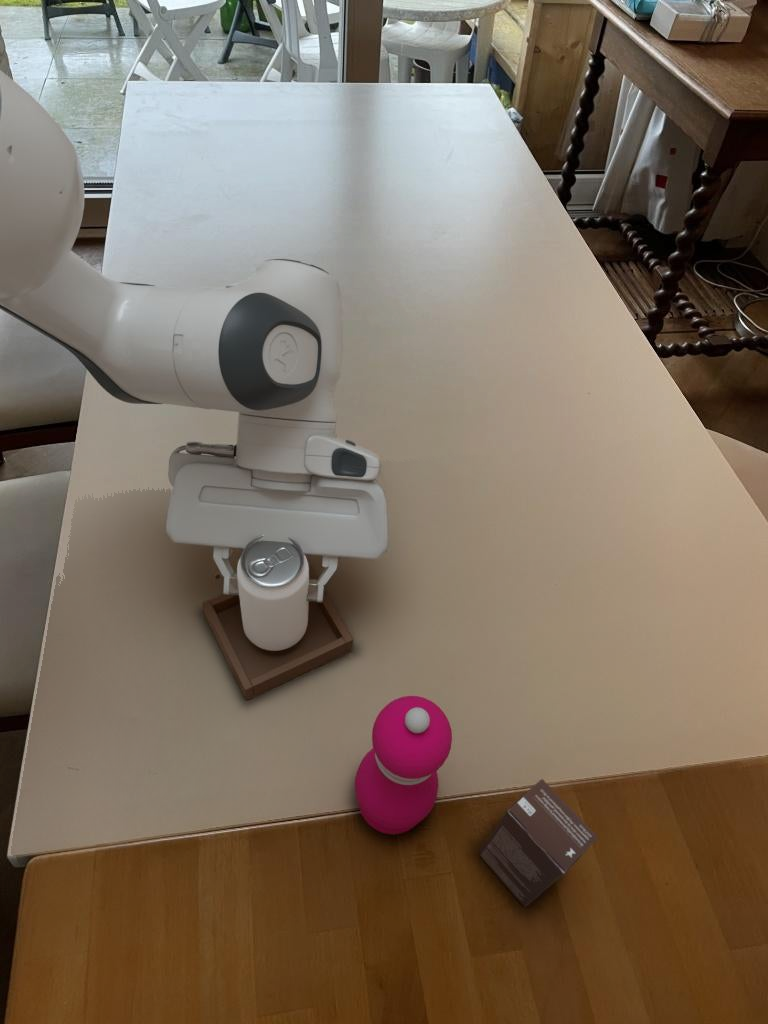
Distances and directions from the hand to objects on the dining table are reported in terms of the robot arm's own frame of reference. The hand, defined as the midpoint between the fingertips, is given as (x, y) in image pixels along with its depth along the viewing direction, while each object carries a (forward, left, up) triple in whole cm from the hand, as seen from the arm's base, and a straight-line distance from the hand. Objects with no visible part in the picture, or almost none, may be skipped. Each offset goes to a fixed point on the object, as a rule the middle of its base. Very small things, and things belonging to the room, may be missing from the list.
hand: (274, 597), depth 73 cm
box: (+9, -30, -8) cm, 32 cm away
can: (0, +1, -7) cm, 7 cm away
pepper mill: (+2, -20, -8) cm, 21 cm away
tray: (0, 0, -8) cm, 8 cm away
